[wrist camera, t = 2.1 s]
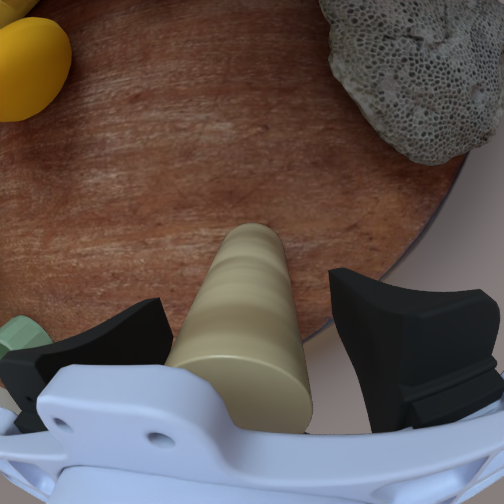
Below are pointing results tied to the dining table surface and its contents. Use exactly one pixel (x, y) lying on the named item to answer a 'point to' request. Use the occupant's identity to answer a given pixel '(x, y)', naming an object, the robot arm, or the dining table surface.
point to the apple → (31, 66)
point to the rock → (422, 70)
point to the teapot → (14, 10)
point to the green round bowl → (22, 335)
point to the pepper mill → (249, 335)
